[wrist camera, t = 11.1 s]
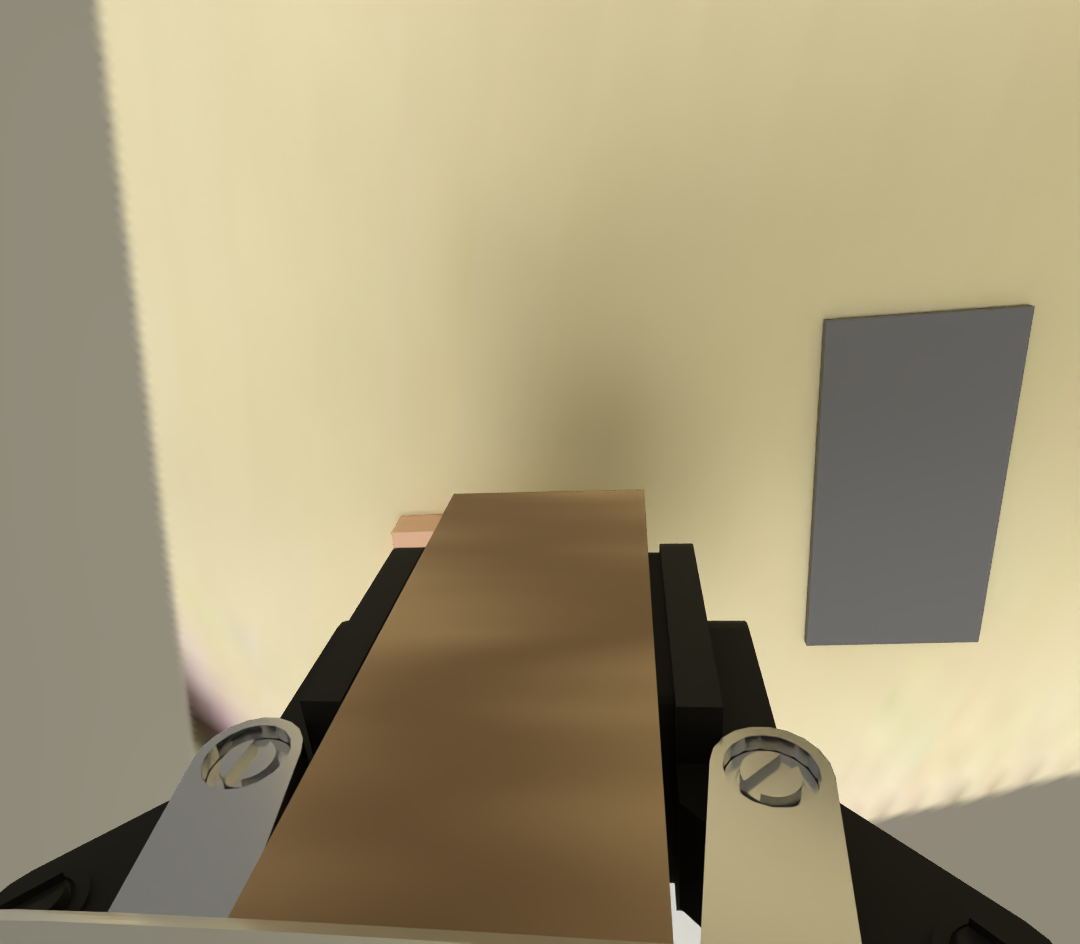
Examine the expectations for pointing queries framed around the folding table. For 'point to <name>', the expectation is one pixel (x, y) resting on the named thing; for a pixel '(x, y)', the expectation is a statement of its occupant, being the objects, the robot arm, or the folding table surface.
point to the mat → (911, 472)
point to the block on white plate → (495, 742)
